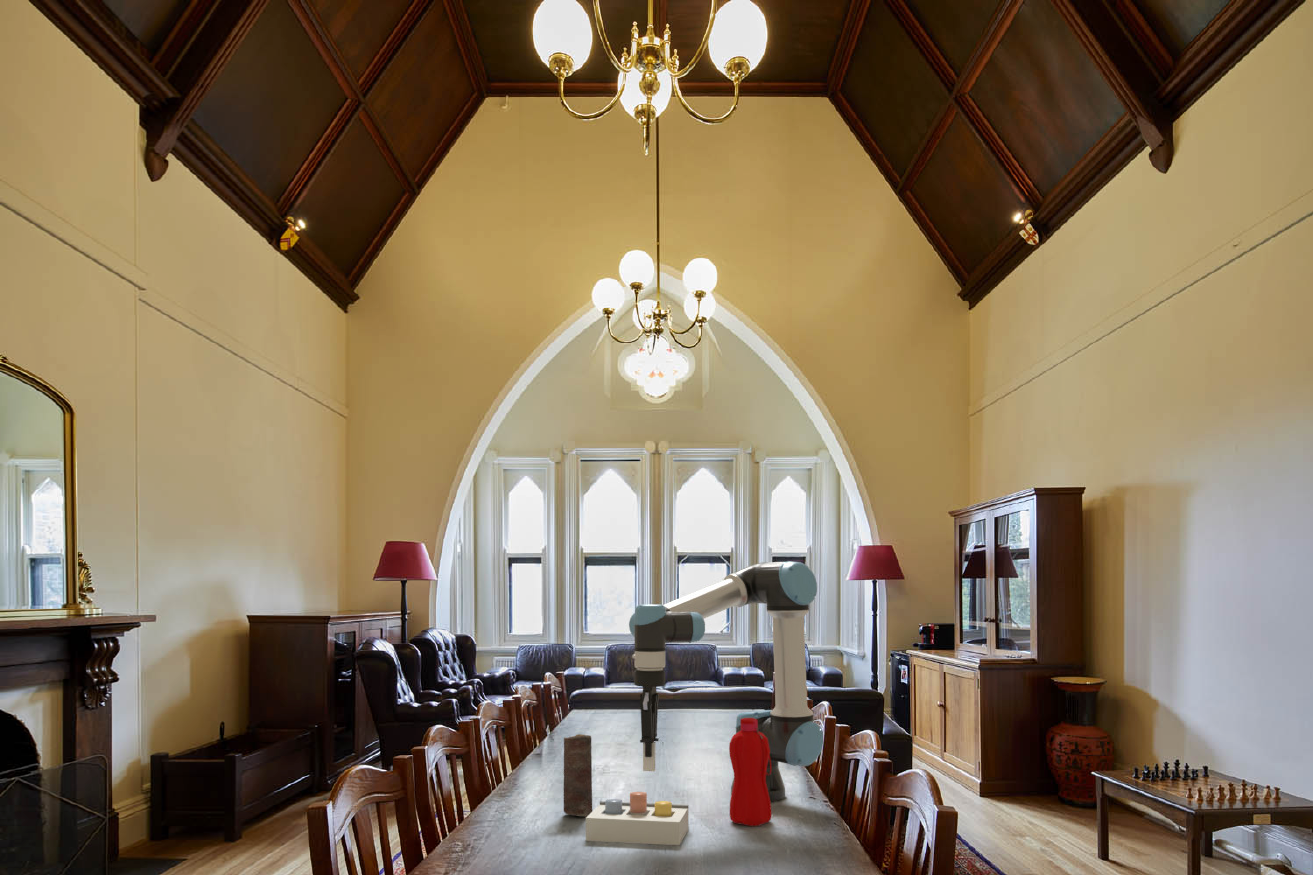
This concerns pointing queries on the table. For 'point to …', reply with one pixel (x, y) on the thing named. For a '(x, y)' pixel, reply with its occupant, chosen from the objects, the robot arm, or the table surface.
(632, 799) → the button terracotta
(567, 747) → the brown rounded bar
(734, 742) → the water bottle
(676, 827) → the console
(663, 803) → the button mustard
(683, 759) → the table surface
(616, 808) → the button slate
